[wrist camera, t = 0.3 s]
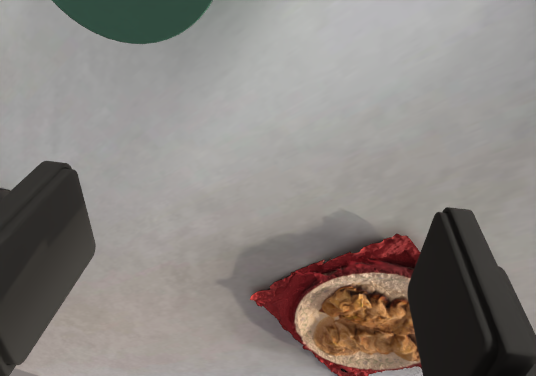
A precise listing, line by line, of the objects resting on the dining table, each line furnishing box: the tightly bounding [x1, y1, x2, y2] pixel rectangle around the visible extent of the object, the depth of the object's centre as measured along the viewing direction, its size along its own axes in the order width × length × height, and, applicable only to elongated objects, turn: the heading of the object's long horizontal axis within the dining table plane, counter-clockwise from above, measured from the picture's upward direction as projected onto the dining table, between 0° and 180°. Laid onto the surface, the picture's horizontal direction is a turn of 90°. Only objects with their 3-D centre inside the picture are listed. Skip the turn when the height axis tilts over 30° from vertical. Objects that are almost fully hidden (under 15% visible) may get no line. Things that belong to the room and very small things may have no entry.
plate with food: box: [250, 234, 422, 376], centre depth 57 cm, size 24×26×4 cm
